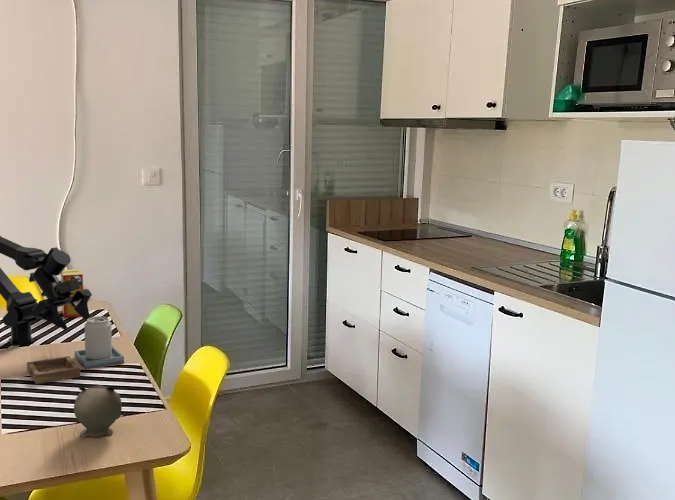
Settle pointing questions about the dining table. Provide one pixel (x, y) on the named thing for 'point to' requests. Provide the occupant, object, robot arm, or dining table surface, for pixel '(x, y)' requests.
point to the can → (98, 338)
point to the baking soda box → (65, 276)
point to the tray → (87, 364)
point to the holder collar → (51, 376)
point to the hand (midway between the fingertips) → (78, 325)
